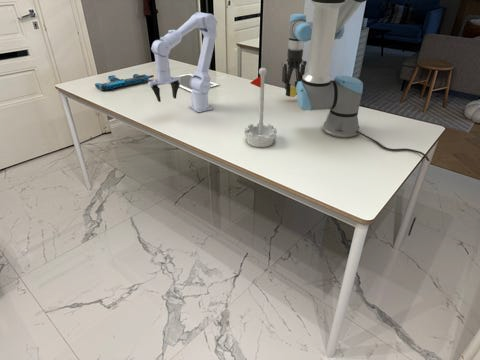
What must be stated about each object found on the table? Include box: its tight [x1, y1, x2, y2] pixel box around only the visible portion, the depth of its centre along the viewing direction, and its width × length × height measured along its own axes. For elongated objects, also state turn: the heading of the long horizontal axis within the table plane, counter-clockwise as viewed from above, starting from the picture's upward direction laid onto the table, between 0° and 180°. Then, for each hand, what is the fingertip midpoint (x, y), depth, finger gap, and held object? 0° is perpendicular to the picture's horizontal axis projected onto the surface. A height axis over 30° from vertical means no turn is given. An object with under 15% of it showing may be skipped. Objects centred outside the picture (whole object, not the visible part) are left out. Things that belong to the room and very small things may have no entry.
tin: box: [289, 85, 297, 98], centre depth 179 cm, size 4×4×4 cm
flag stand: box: [244, 67, 278, 148], centre depth 133 cm, size 13×13×30 cm
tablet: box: [175, 73, 220, 93], centre depth 208 cm, size 32×20×1 cm, turn 41°
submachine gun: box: [94, 73, 155, 91], centre depth 208 cm, size 34×4×25 cm
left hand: (167, 99), depth 156 cm, fingers open, 7 cm apart
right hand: (291, 94), depth 180 cm, fingers closed on tin, 4 cm apart
